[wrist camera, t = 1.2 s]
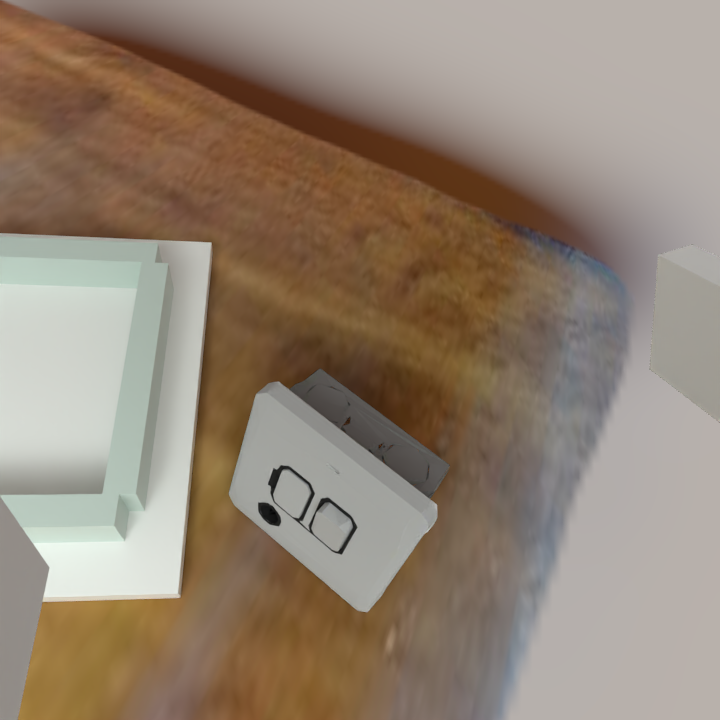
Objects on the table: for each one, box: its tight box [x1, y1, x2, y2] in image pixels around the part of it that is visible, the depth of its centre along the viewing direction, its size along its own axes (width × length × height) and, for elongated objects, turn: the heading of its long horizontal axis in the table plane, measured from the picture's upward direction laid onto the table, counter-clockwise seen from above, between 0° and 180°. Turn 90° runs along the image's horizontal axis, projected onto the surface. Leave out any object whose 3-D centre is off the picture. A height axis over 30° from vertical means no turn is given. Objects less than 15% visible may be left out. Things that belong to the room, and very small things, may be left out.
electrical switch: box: [229, 369, 450, 612], centre depth 30 cm, size 9×5×9 cm, turn 52°
